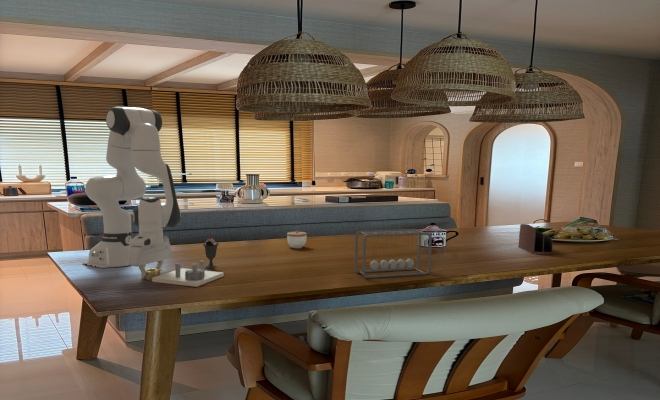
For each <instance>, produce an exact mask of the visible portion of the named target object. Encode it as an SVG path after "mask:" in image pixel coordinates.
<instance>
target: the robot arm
mask: <svg viewBox="0 0 660 400" xmlns="http://www.w3.org/2000/svg"><path fill="white" fill-rule="evenodd" d="M105 121H106V126H107V128H108V130H110V131H109V133H108V134H109V135H108V140H107V148H106V154H105V155H106V157H105V160H106V162H107V164H108V165H109V166H110V167H112V168H114V169H115V170H116V175H99V176H94V177H90V178H89V179H88V180H87V181H86V184H85V187H84V188H85V189H84V190H85V194H86V196H87V197H88V198H89V199H90V200H91V201H92V202H94V203H95V204H96V205H97V207H98V208H99V210H100V212H101V214H102V221H103V233H99V236H98V237H99V238H100V241H99V242H98V243H97V244H95V246H93V247H91V249H90V250H89V251H88V259H87V260H84V261H83V262H82V265H85V264H87V265H86V266H90V265H92V266H91V267H95V266H96V267H95V268H101V269H105V268H116V267H117V268H119V267H127V266H131V267H136V268H137V267H138V269H139V270H140V272H141V273H140V276H141V277H142V276H146V275H148V274H147V273H148V271H146V270H145V269H146V265H148V264H152V263H157V266H155V269H160V270H161V272H162V269H163V265H164V262H165V260H167V259H171V256H172V247H171V243H170V238H169V236H167V235H164V229H163V228H175V227H176V226H177V225H178V224H180V222H181V221H182V219H181V218H182V213H181V210H180V205H179V202H178V198H177V194H176V189H175V188H176V187H175V182H174V179H173V174H172V170H171V168H170V165H169V164H167V163H165V161H164V160H163V157H162V154H161V141H160V134H159V133H160V131H161V129H162V127H163V118H162V116H161V114H160V112H158V111H156V110H154V109H147V108H143V107H134V106H133V107H132V106H131V107H129V106H112V107H110V108H109V109H108V111H107V113H106V117H105ZM137 170H138V171H140V172H141V173H143V174H146V175H149V176H152V177H154V178H156V179H158V180H159V181H160V182H161V185H162V187H163V191H164V196H165V200H166V202H164V203H163V202H162V201H161V198H159V197H157V196H153V195H149V196H148V195H147V196H144V195H145V193H146V191H147V186H146V185H147V184H146V182H145V180H144V178H142V177H141V176H140V175H139V173H138V172H137ZM137 199H139V203H138V204H137V205H136V206H135V207H133V209H132V215H133V218H132V217H131V216H132V215H131V213H129V211H127V210H126V209H124V208H122V207H121V206H120V203H119V202H121V201H132V200H137ZM132 224H133V225H135V227H136V226H137V227H138V228H139V229H138V234H137V235H135V236H134V237H133V231H132Z"/></svg>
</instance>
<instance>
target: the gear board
mask: <svg viewBox="0 0 660 400" xmlns="http://www.w3.org/2000/svg"><path fill="white" fill-rule="evenodd" d="M174 265H175V266H174V267H175V270H172V271H170V272H166V273H164V274H161V275H159V276H156V277H153V278H152V279H151V282H153V283H159V284H160V283H161V284H169V285H177V286H186V287H187V286H188V287H195V288H196V287H197V288H198V287H200V286H202V285H205V284H208V283H210V282H212V281H215V280H218V279H220V278H223V277H224V276H225V274H224V271H223V272H222V271H213V270H205V269H206V268H205V267H206V265H205V260H203V259H202V260H201V259H200V260H199V268H198V263H192V264H191V265H192V266H191V267H192V268H183V267H182V268H181V263H179V262H178V263H175V264H174Z"/></svg>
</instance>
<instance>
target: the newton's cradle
mask: <svg viewBox="0 0 660 400" xmlns="http://www.w3.org/2000/svg"><path fill="white" fill-rule="evenodd" d="M360 234H362V235H363V236H364V237H363V238H362V239H363V240H362V243H363V244H362V269H361V270H359V268H358V258H359V257H358V255H359V253H358V250H359V249H358V248H359V246H358V244H359V235H360ZM405 236H406V237H409V236H412V238H411V240H413V238H414V236H418V237H417V238H418V241H417V265H416V266H414V265H415V260H414V259H412V258H411V256H412V252H409V257H408V258H407V259H406V260H405V259H404V258H398V260H395V259H394V257H395V254H391V259H390V260H389V261H388V260H386V258H383V259H382V260H380V262H379V261H378V260H376V259H377V256H376V253H377V252H378V251H377V250H378V248H373V249H374V251H373V253H374V254H373V257H374V260H372V261H371V262H370V263H369V267H370V269H367V268H366V264H367V263H366V262H367V261H366V259H367V238H372V237H373V238H379V237H390V241H391V244H390V245H393V241H392V237H395V238H394V241H396V238H397V237H399V238H401V237H405ZM422 236H428V252H427V253H428V258H427V260H428V262H427V270H426V271H423V270H420V269H419V268H420V267H421V251H422V249H421V247H422V243H421V242H422ZM432 241H433V239H432V234H431V233H430V232H428V231H422V230H420V229H419V228H418V229H417V228H408V229H406V228H405V229H401V228H400V229H379V230H378V229H374V230H359V231H357V232H356V233H355V236H354V270H355V272H356V273H358V274H362V275H363V277H364V278H365V279H376V278H377V279H379V278H380V279H381V278H394V277H410V276H412V277H413V276H424V275H425V276H426V275H428V274H429V273H430V272H431V270H432V243H433V242H432ZM376 242H377V243H376V245H378V243H379V240H377V241H376ZM385 242H386V243H385V245H387V242H388V239H386V241H385ZM404 243H405V240H403V243H402V245H404ZM407 243H408V249H412V245H413V243H411V245H410V246H411V247H410V246H409V241H407ZM395 246H396V245H394V247H393V250H395ZM399 248H400V249H399V251H400V255H403V252H404V249H402V250H401V246H399ZM382 249H383V255H386V252H387V249H384V246H382ZM384 250H385V251H384ZM405 266H406V267H405ZM398 271H399V272H403V271H417V272H405V273H404V272H403V273H390V274H388V273H385V272H398ZM418 271H419V272H418ZM367 273H369V275H367ZM370 273H385V274H372V275H370Z"/></svg>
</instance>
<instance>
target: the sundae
mask: <svg viewBox="0 0 660 400" xmlns="http://www.w3.org/2000/svg"><path fill="white" fill-rule="evenodd" d="M209 233H210V235H209V236H208V238H207V239H206V241H205V242H204V243H203V244H202V246H203V247H204V250H205V252H204V253H205V257H206V258H207V259H208V260H209V264H208V265H205V269H216V268H217V266H216V265H214V264H213V259H215V258H216V255H217V250H218V249H217V248H218V246H220V245H219V242H216V241H215V239H214V238H213V235H212V234H211V233H212V232H209Z"/></svg>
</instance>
